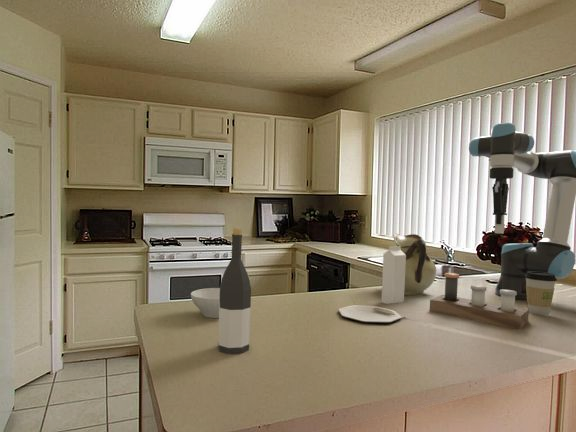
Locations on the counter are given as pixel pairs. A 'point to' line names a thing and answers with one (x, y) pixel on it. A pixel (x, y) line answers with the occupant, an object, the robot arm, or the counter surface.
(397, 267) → the milk
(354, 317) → the plate
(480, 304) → the knob mid
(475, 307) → the mount
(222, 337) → the wine bottle
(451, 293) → the pot knob
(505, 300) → the knob left
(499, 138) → the robot arm
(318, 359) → the counter surface
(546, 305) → the coffee cup
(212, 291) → the bowl
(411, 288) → the pitcher
